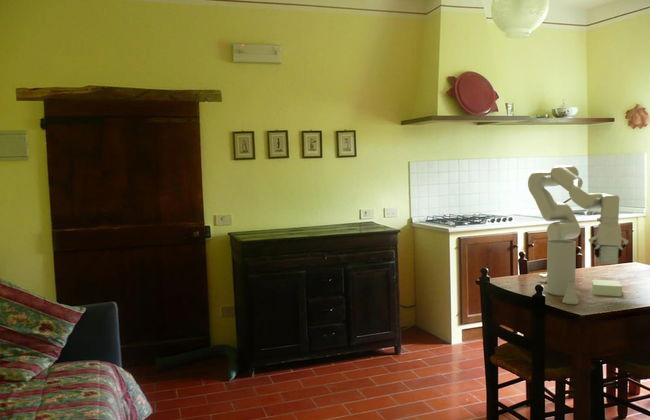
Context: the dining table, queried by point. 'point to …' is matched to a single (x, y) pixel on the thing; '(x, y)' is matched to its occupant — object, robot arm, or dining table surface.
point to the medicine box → (608, 254)
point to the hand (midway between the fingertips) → (607, 257)
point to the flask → (570, 294)
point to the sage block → (606, 287)
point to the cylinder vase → (560, 265)
